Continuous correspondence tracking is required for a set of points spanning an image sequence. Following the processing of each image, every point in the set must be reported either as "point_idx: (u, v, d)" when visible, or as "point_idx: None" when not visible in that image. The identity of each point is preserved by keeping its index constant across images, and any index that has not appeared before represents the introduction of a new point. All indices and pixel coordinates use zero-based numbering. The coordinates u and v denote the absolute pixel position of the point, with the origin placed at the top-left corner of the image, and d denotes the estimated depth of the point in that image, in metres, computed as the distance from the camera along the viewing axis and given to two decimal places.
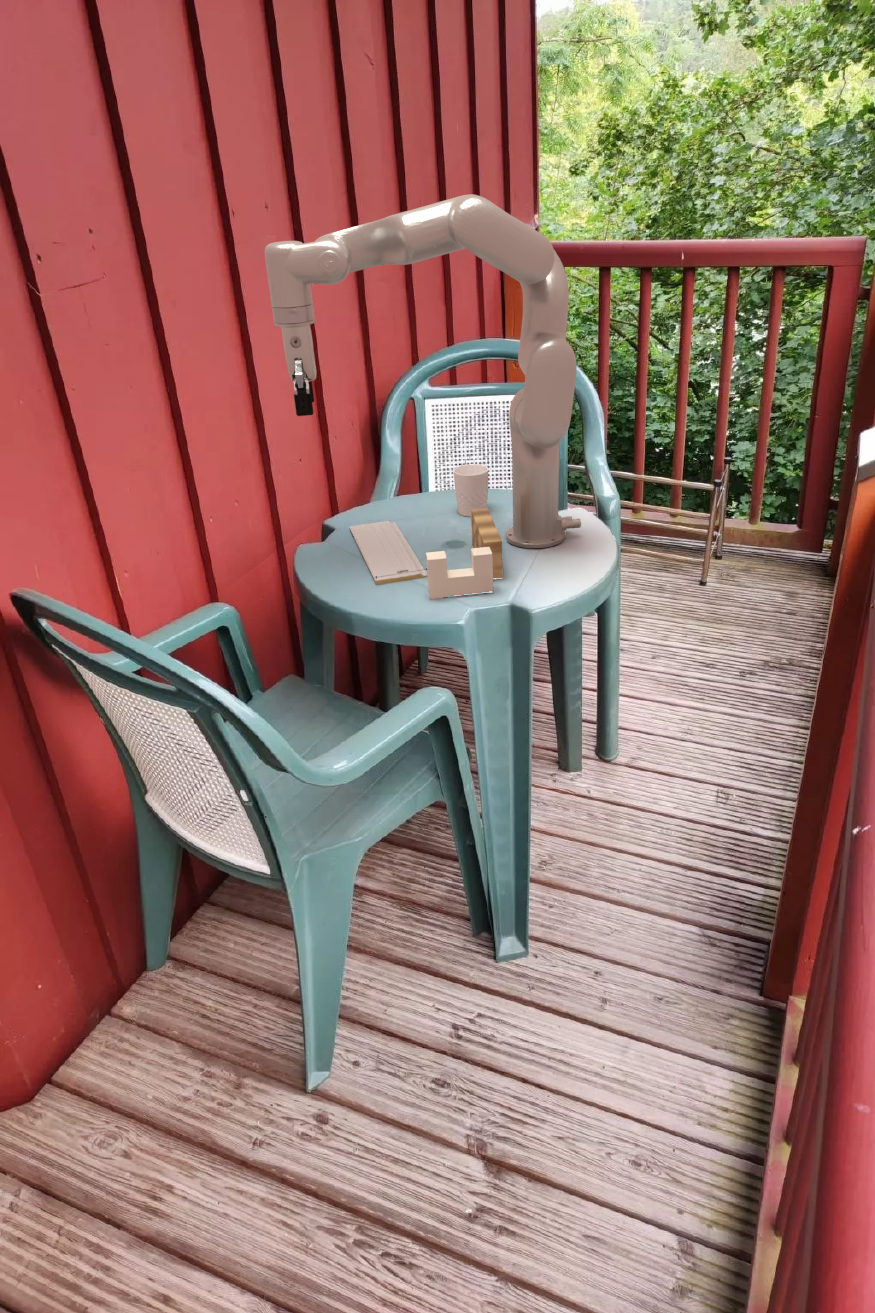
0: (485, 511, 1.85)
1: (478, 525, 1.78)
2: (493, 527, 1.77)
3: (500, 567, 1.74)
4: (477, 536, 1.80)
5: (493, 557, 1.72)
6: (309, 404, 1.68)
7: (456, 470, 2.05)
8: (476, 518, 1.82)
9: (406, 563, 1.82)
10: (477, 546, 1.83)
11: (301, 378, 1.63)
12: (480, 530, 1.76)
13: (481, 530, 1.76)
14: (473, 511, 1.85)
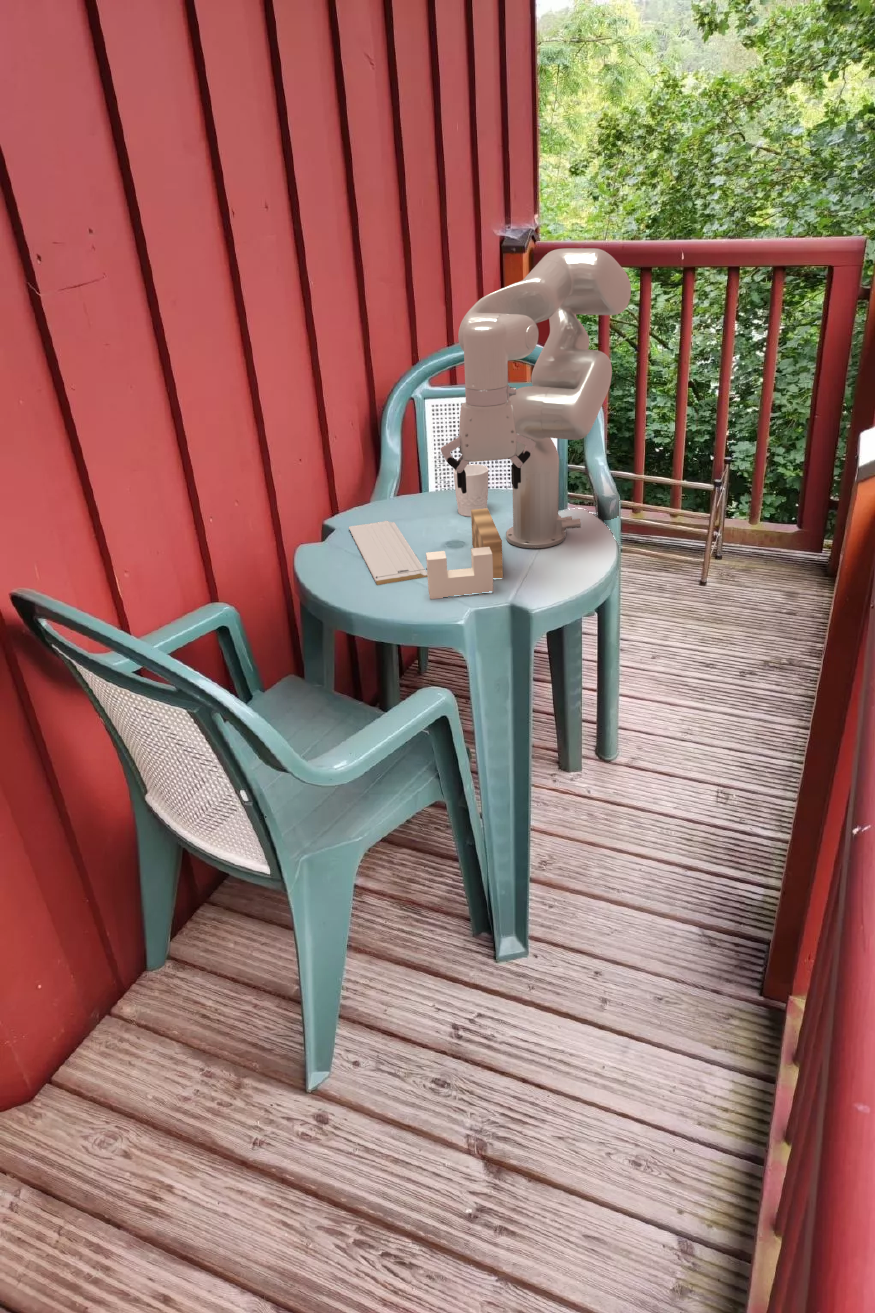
0: (485, 511, 1.85)
1: (478, 525, 1.78)
2: (493, 527, 1.77)
3: (500, 567, 1.74)
4: (477, 536, 1.80)
5: (493, 557, 1.72)
6: None
7: None
8: (476, 518, 1.82)
9: (406, 563, 1.82)
10: (477, 546, 1.83)
11: None
12: (480, 530, 1.76)
13: (481, 530, 1.76)
14: (473, 511, 1.85)
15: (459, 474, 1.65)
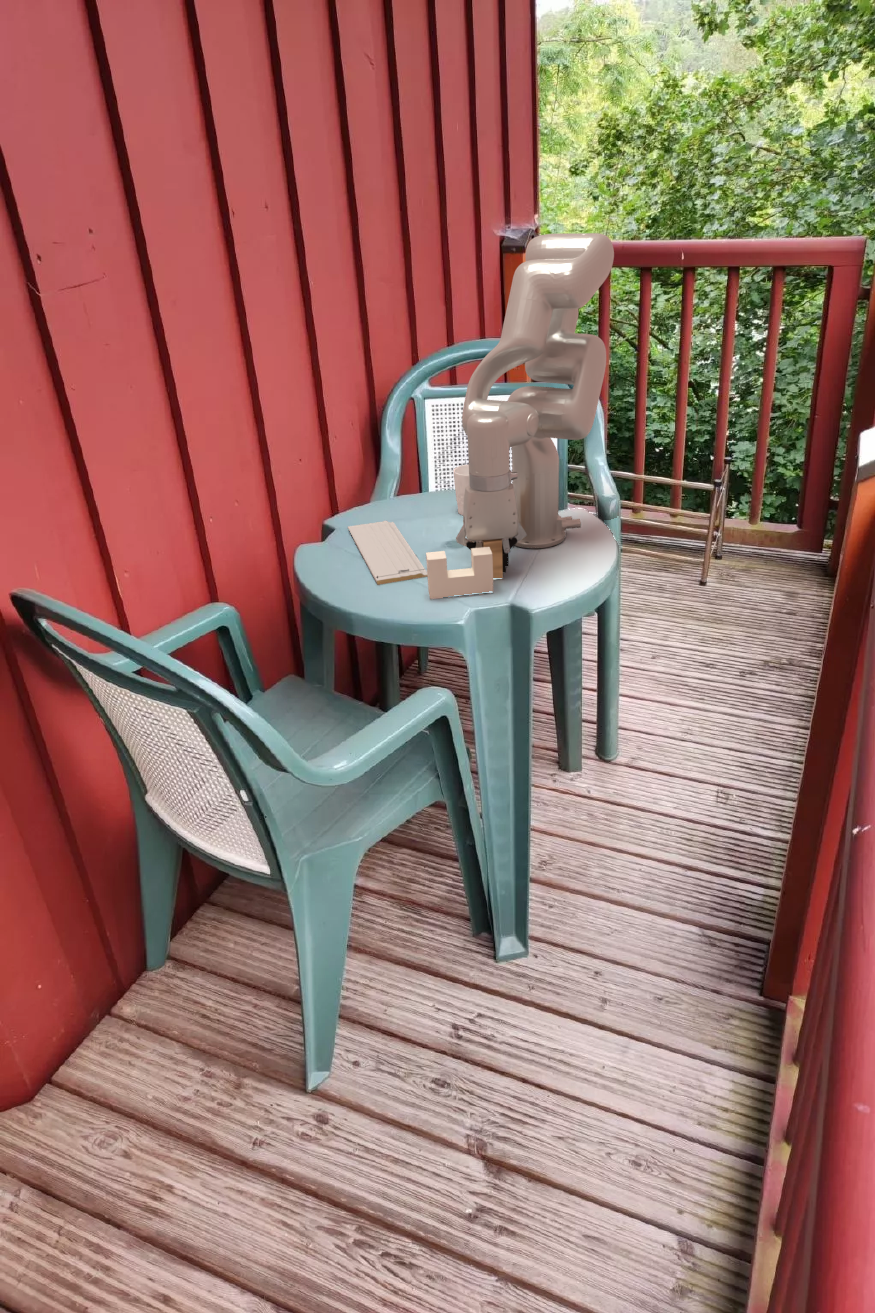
0: None
1: None
2: None
3: (500, 567, 1.74)
4: None
5: (493, 557, 1.72)
6: None
7: (456, 470, 2.05)
8: None
9: (406, 563, 1.82)
10: None
11: None
12: None
13: None
14: None
15: None
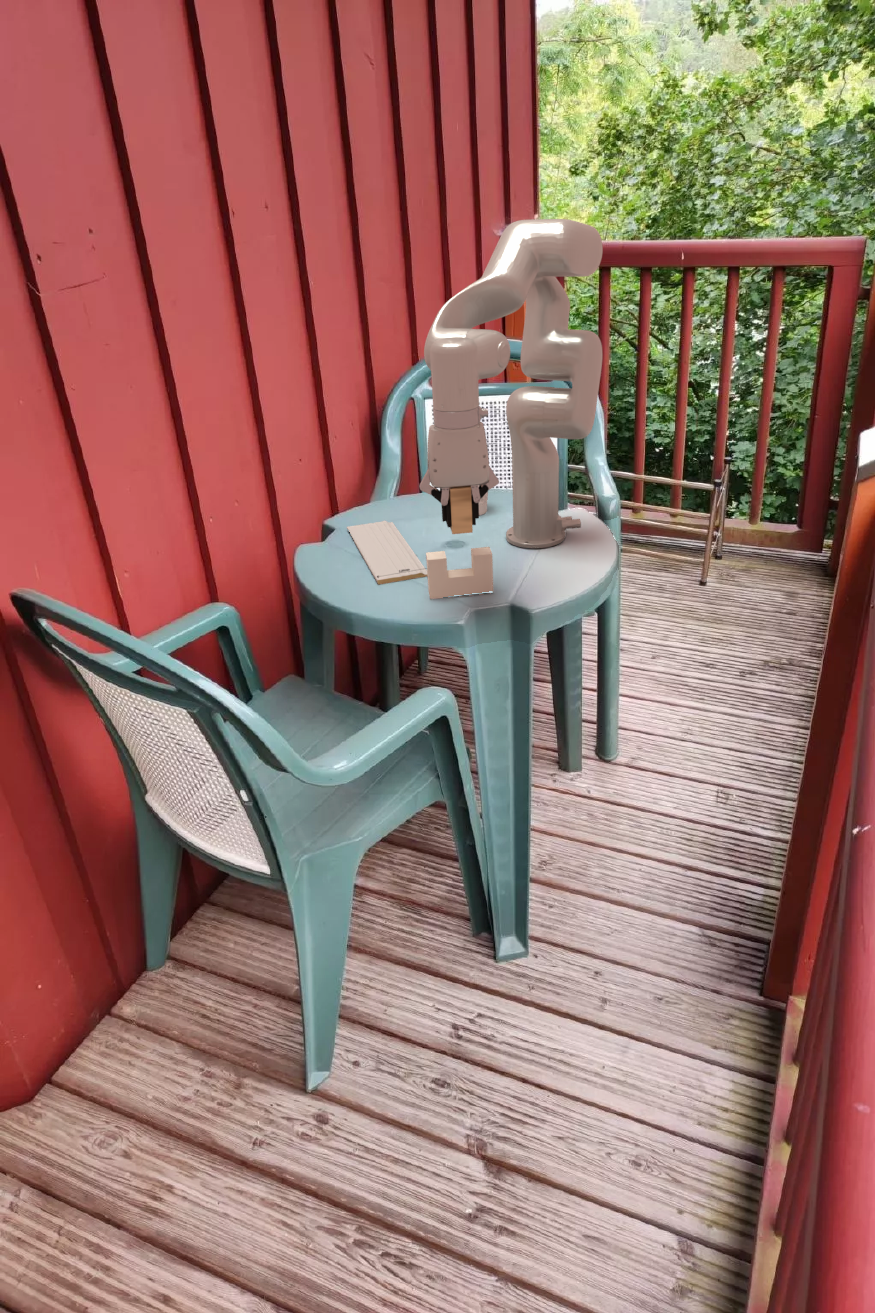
0: None
1: None
2: None
3: (469, 518, 1.54)
4: None
5: (461, 507, 1.53)
6: None
7: None
8: None
9: (406, 563, 1.82)
10: None
11: None
12: None
13: None
14: None
15: (444, 507, 1.54)
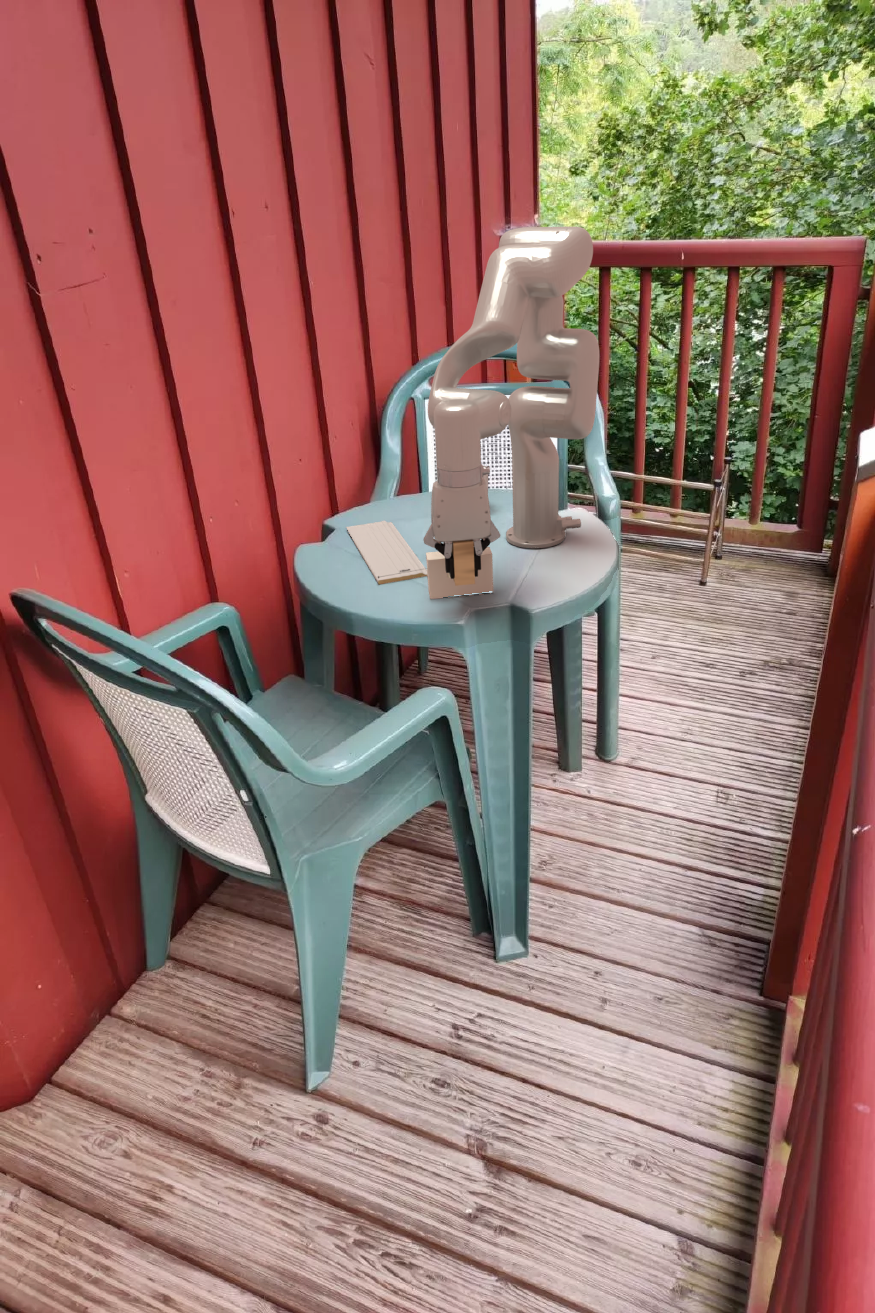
0: None
1: None
2: None
3: (472, 570, 1.59)
4: None
5: (464, 560, 1.58)
6: None
7: None
8: None
9: (407, 563, 1.82)
10: None
11: None
12: None
13: None
14: None
15: (447, 559, 1.59)
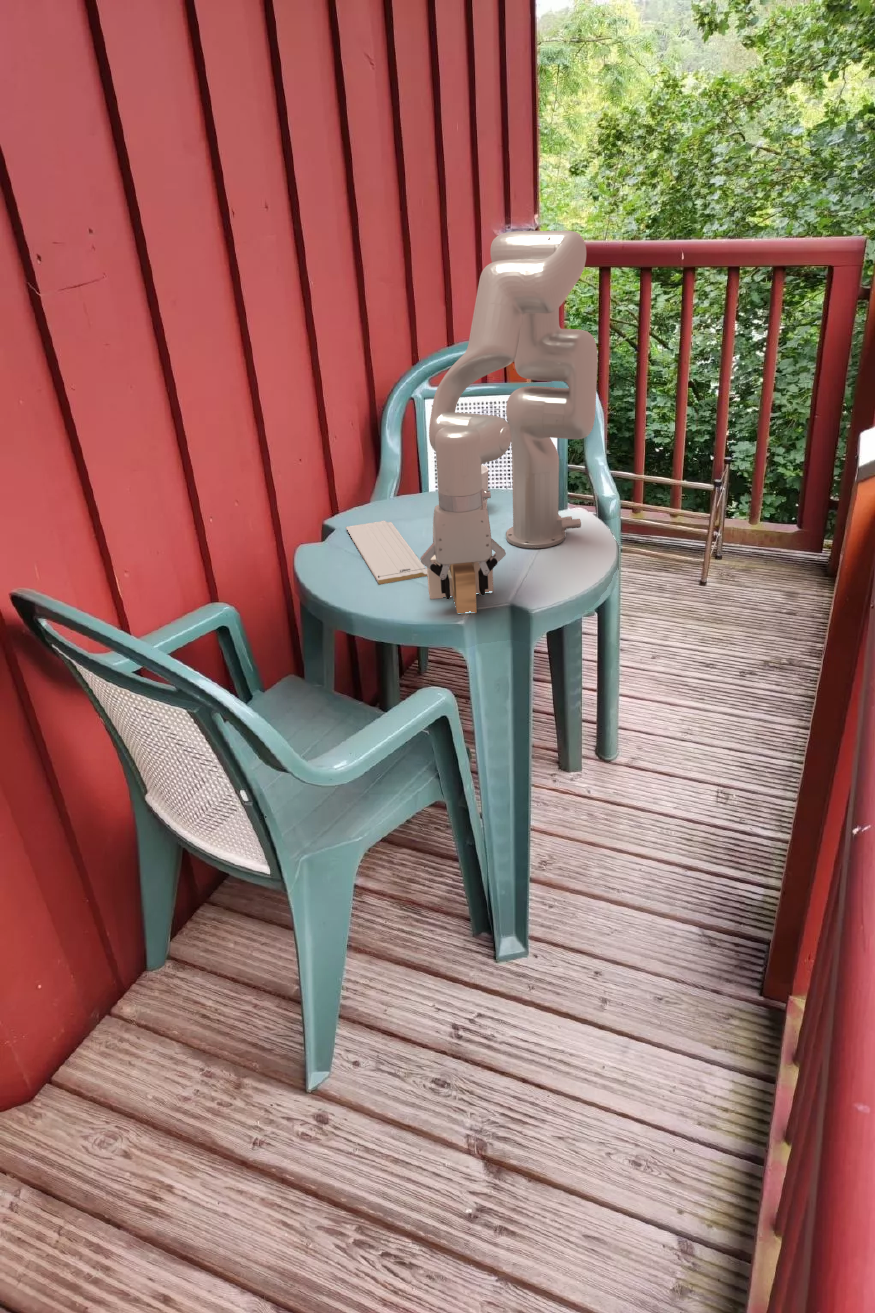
0: None
1: None
2: None
3: (473, 600, 1.62)
4: (450, 566, 1.68)
5: (466, 590, 1.61)
6: None
7: None
8: None
9: (406, 563, 1.82)
10: None
11: None
12: None
13: None
14: None
15: (443, 580, 1.61)
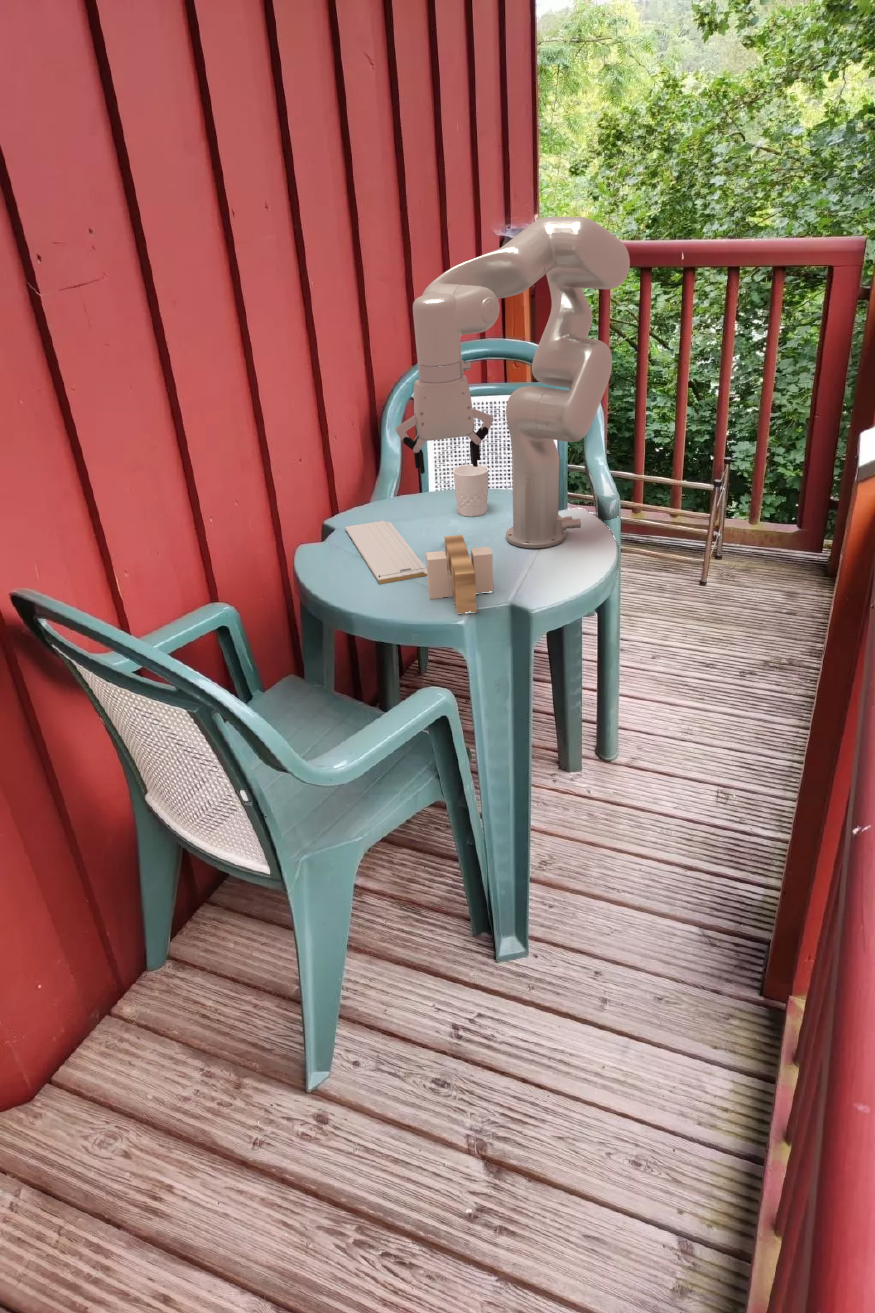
0: (459, 538, 1.73)
1: (451, 554, 1.67)
2: (466, 557, 1.65)
3: (473, 600, 1.62)
4: (450, 566, 1.68)
5: (466, 590, 1.61)
6: None
7: (456, 470, 2.05)
8: (449, 546, 1.70)
9: (407, 562, 1.82)
10: None
11: None
12: (452, 560, 1.64)
13: (453, 560, 1.64)
14: (446, 538, 1.74)
15: (416, 454, 1.60)
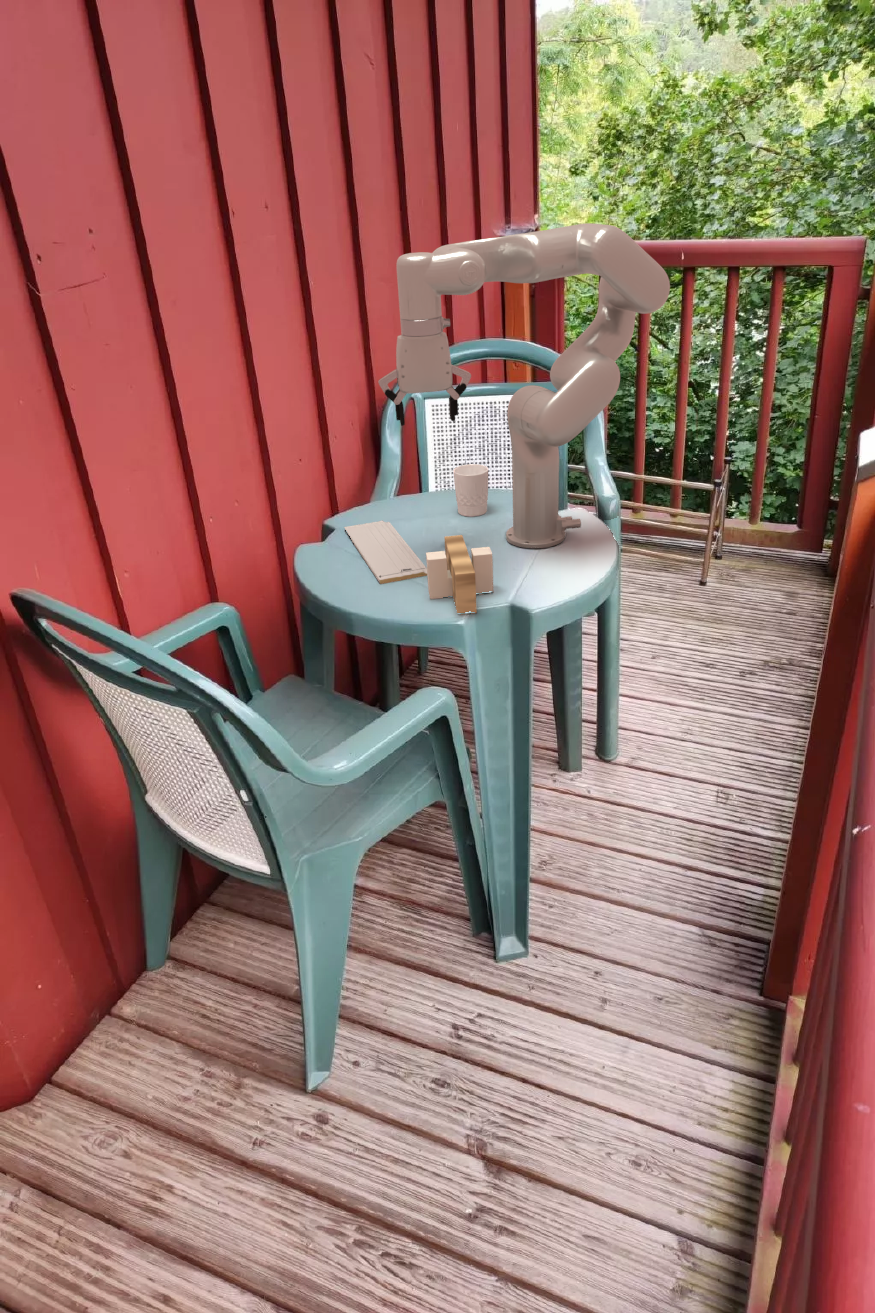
0: (459, 538, 1.73)
1: (451, 554, 1.67)
2: (466, 557, 1.65)
3: (473, 600, 1.62)
4: (450, 566, 1.68)
5: (466, 590, 1.61)
6: None
7: (456, 470, 2.05)
8: (449, 546, 1.70)
9: (407, 562, 1.82)
10: None
11: None
12: (452, 560, 1.64)
13: (453, 560, 1.64)
14: (446, 538, 1.74)
15: (397, 406, 1.69)
